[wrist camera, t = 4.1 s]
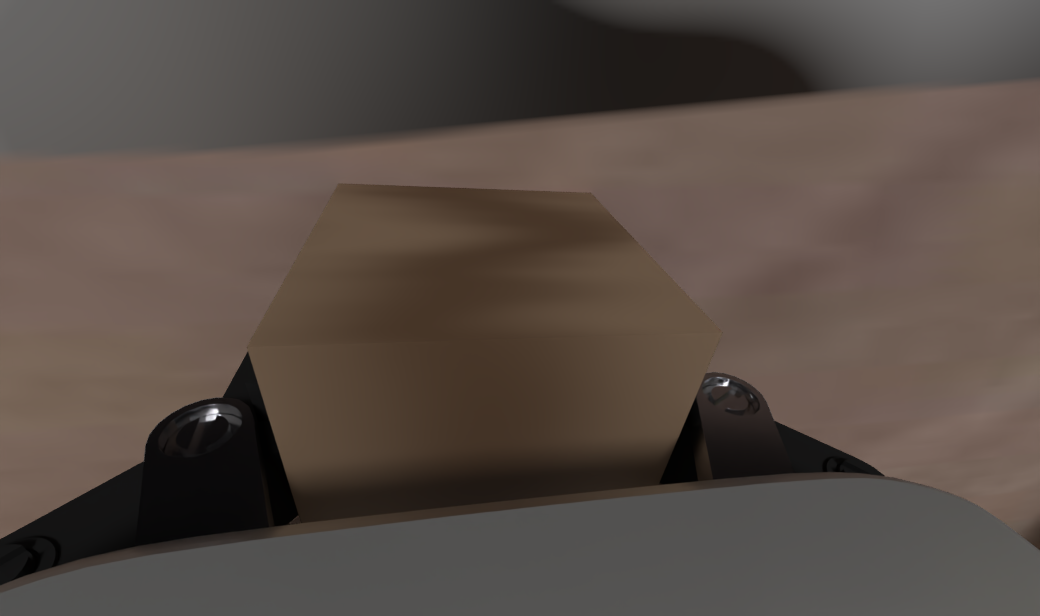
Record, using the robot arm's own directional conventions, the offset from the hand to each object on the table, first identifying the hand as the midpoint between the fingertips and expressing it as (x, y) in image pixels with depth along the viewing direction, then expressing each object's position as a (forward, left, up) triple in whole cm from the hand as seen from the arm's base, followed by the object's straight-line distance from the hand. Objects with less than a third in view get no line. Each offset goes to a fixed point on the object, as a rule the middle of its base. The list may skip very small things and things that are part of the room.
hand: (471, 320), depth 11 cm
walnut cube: (0, 0, -1) cm, 1 cm away
